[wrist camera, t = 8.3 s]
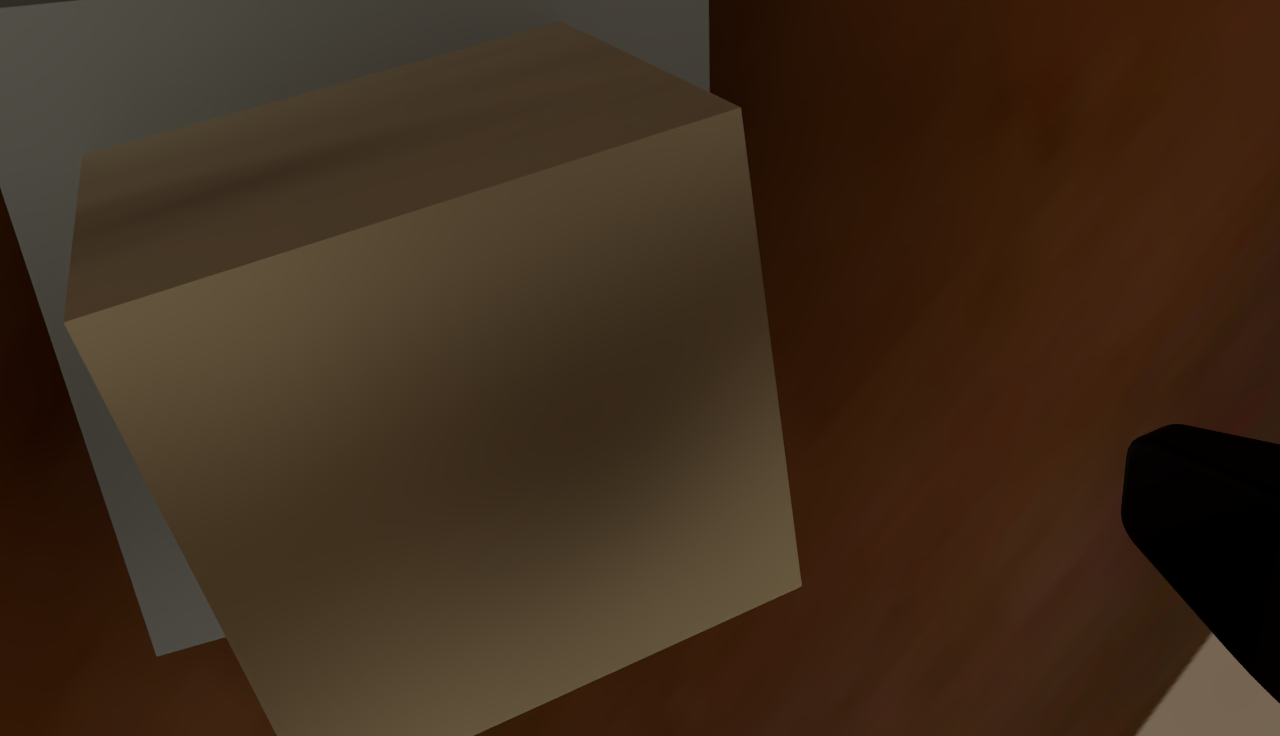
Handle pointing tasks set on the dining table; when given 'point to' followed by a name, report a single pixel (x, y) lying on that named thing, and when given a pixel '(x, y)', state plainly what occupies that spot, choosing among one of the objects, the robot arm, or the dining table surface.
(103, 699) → the dining table surface
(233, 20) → the base block
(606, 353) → the birch block
